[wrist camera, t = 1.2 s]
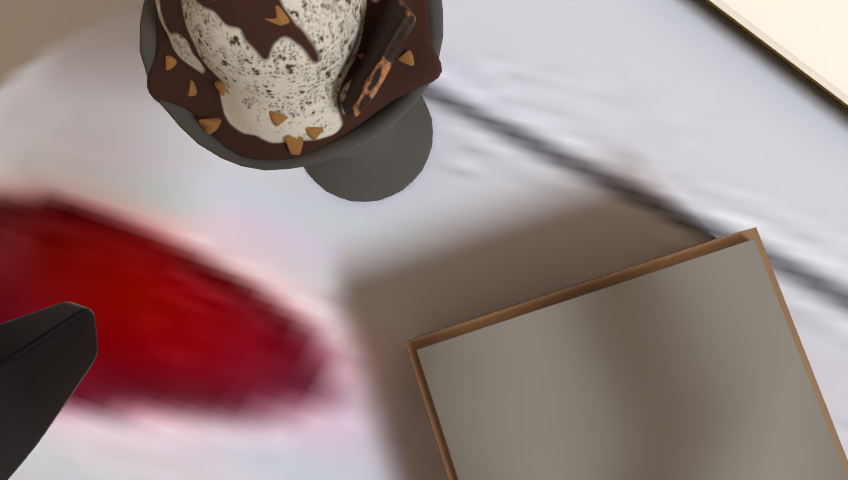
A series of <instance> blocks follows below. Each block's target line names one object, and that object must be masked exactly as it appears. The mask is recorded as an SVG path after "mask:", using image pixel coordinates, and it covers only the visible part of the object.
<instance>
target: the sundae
mask: <svg viewBox="0 0 848 480" xmlns="http://www.w3.org/2000/svg"><path fill="white" fill-rule="evenodd" d="M442 39H443V7H442V0H145V1H144V4H143V10H142V16H141V22H140V53H141V57H142V60H143V63H144V67H145V70H146V73H147V87H148V91H149V93H150V94H151V96H152V97H153V98H154V99H155V100H156V101H157V102H159V103H160V104H161V105H162V106H163V107H164V109H165V110H166V111H167V112H168V113H169V114H170V116H171V117H172V118H173V119H174V120H175V121H176V123H177V124H178V125H179V126H180V127H181V128H182V129H183V130H184V131H185V132H186V133H187V134H188V135H189V136H190V137H191V138H193V139H194V140H195V141H196V142H197V143H198V144H199V145H201V146H202V147H204V148H206V149H207V150H209V151H210V152H212V153H214V154H215V155H217V156H219V157H220V158H222V159H225V160H227V161H230V162H233V163H235V164H238V165H240V166H244V167H249V168H255V169H260V170H279V169H291V168H297V167H303V166H305V167H306V169H307V171H308V173H309V174H310V176H311V177H312V178H313V179H314V180H315V181H316V182H317V183H318V184H319V185H320V186H321V187H322V188H324V189H325V190H326V191H327V192H329V193H331V194H333V195H336V196H338V197H340V198H343V199H347V200H350V201H361V202H367V201H378V200H381V199H384V198H387V197H389V196H392V195H394V194H396V193H398V192H400V191H401V190H403V189H404V188H406V187H407V186H408V185H409V184H410V183H411V182H412V181H413V180H414V179H415V178H416V177H417V176H418V174H419V173H420V172H421V171H422V169H423V167H424V165H425V163H426V161H427V159H428V156H429V153H430V150H431V147H432V137H433V129H432V118H431V116H430V113H429V110H428V107H427V105H426V103H425V102H424V100H423V98H422V96H421V95H422V93H423V92H424V91H425V89H426V88H427V86H428V85H429V83H431V82H433V81H434V80H436V79H437V78H438V77H439V76H440V74H441V72H442V68H441V62H440V60H439V54H440V49H441V44H442Z"/></svg>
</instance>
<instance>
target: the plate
mask: <svg viewBox="0 0 848 480" xmlns="http://www.w3.org/2000/svg"><path fill="white" fill-rule="evenodd" d="M705 1H706V2H707V3H709V4H710V5H711V6H713V7H714V8H715V9H717V10H718V11H719V12H721V13H722V14H723V15H724V16H726V17H727V18H728V19H730V20H731V21H732V22H734V23H735V24H736V25H738V26H739V27H740V28H742V29H743V30H744V31H746V32H747V33H748V34H750V35H751V36H752V37H754V38H755V39H756V40H758V41H759V42H760V43H761V44H763V45H764V46H765V47H767V48H768V49H769V50H771V51H772V52H773V53H775V54H776V55H777V56H779V57H780V58H781V59H783V60H784V61H785V62H787V63H788V64H789V65H791V66H792V67H793V68H794V69H796V70H797V71H798V72H800V73H801V74H802V75H804V76H805V77H806V78H808V79H809V80H810V81H812V82H813V83H814V84H816V85H817V86H818V87H820V88H821V89H822V90H824V91H825V92H826V93H828V94H829V95H830V96H831V97H833V98H834V99H835V100H837V101H838V102H839V103H841V104H842V105H843V106H845V107H846V108H847V109H848V0H705Z"/></svg>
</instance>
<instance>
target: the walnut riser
mask: <svg viewBox="0 0 848 480" xmlns="http://www.w3.org/2000/svg"><path fill="white" fill-rule="evenodd" d="M405 344H406V348H407V351H408V354H409V357H410V360H411V363H412V366H413V369H414V373H415V376H416V379H417V382H418V385H419V388H420V391H421V394H422V397H423V401H424V404H425V407H426V410H427V413H428V416H429V419H430V422H431V426H432V429H433V432H434V435H435V438H436V441H437V444H438V447H439V451H440V454H441V457H442V460H443V463H444V466H445V469H446V472H447V475H448V479H449V480H848V460H847V458H846V455H845V453H844V450H843V448H842V445H841V443H840V440H839V437H838V435H837V432H836V430H835V427H834V425H833V422H832V420H831V417H830V415H829V412H828V409H827V407H826V404H825V402H824V399H823V397H822V394H821V392H820V389H819V386H818V384H817V381H816V379H815V376H814V374H813V371H812V369H811V366H810V364H809V361H808V358H807V356H806V353H805V351H804V348H803V346H802V343H801V341H800V338H799V336H798V333H797V330H796V328H795V325H794V323H793V320H792V318H791V315H790V313H789V310H788V307H787V305H786V302H785V300H784V297H783V295H782V292H781V290H780V287H779V285H778V282H777V279H776V277H775V274H774V272H773V269H772V267H771V264H770V262H769V259H768V257H767V254H766V251H765V249H764V246H763V244H762V241H761V239H760V236H759V234H758V231H757V229H756V227H755V228H752V229H748V230H745V231H741V232H738V233H734V234H731V235H727V236H724V237H720V238H717V239H714V240H711V241H708V242H705V243H701V244H698V245H695V246H692V247H689V248H686V249H683V250H680V251H677V252H674V253H671V254H668V255H665V256H662V257H659V258H656V259H653V260H650V261H647V262H644V263H641V264H638V265H635V266H632V267H629V268H626V269H623V270H619V271H616V272H613V273H610V274H607V275H604V276H601V277H598V278H595V279H592V280H589V281H586V282H583V283H580V284H577V285H574V286H571V287H568V288H565V289H562V290H559V291H556V292H553V293H550V294H547V295H544V296H541V297H538V298H534V299H531V300H528V301H525V302H522V303H519V304H516V305H513V306H510V307H507V308H504V309H501V310H498V311H495V312H492V313H489V314H486V315H483V316H480V317H477V318H474V319H471V320H468V321H465V322H462V323H459V324H456V325H453V326H449V327H446V328H443V329H440V330H437V331H434V332H431V333H428V334H425V335H422V336H419V337H416V338H414V339H412V340H410V341H408V342H406V343H405Z"/></svg>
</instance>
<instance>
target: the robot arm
mask: <svg viewBox="0 0 848 480" xmlns="http://www.w3.org/2000/svg"><path fill="white" fill-rule="evenodd" d="M97 351H98V342H97V332H96V323H95V315H94V313H93V311H92V310H91V309H89V308H87V307H84V306H81V305H78V304H75V303H72V302H62V303H59V304H56V305H53V306H50V307H47V308H44V309H42V310H39V311H36V312H33V313H30V314H28V315H25V316H22V317H19V318H16V319H13V320H11V321H8V322H5V323H2V324H0V480H8V479H9V478H10V477H11V475H12V474H13V473H14V472H15V471H16V470H17V468H18V467H19V466H20V465H21V464H22V462H23V461H24V460H25V459H26V458H27V456H28V455H29V454H30V453H31V451H32V450H33V449H34V448H35V446H36V445H37V444H38V442H39V441H40V440H41V438H42V437H43V436H44V434H45V433H46V431H47V430H48V428H49V427H50V425H51V424H52V423H53V421H54V420H55V418H56V417H57V415H58V414H59V412H60V411H61V409H62V408H63V406H64V405H65V404H66V402H67V401H68V399H69V398H70V396H71V395H72V393H73V392H74V390H75V389H76V387H77V386H78V385H79V383H80V382H81V380H82V379H83V377H84V376H85V374H86V373H87V371H88V370H89V369H90V367H91V366H92V364H93V362H94V360H95V358H96V355H97Z"/></svg>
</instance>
